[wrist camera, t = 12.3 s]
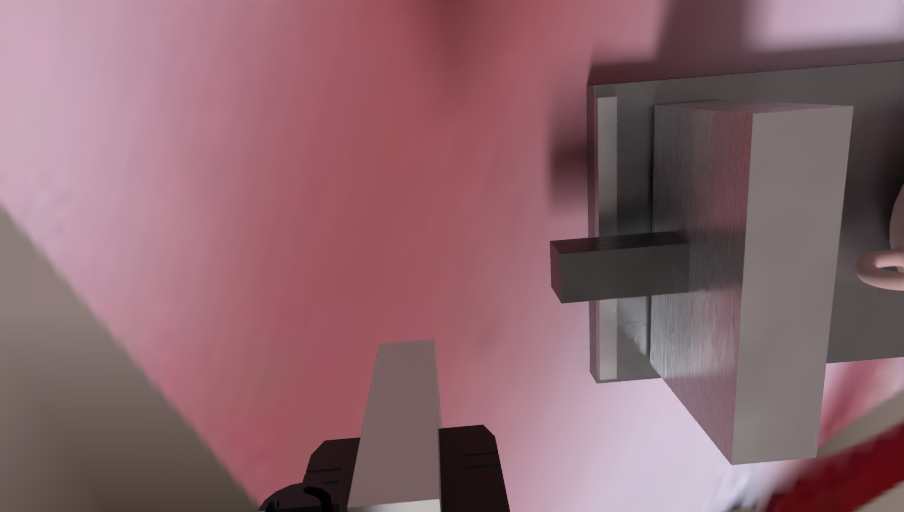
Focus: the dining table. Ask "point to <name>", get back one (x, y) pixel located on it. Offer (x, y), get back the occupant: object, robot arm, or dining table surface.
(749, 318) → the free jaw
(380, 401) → the robot arm
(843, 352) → the vise bed
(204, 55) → the dining table surface
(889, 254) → the mug
